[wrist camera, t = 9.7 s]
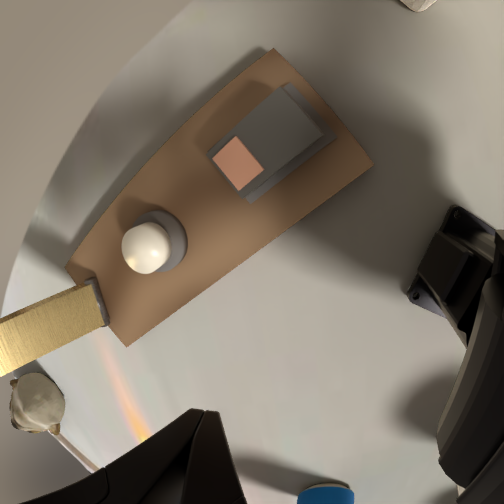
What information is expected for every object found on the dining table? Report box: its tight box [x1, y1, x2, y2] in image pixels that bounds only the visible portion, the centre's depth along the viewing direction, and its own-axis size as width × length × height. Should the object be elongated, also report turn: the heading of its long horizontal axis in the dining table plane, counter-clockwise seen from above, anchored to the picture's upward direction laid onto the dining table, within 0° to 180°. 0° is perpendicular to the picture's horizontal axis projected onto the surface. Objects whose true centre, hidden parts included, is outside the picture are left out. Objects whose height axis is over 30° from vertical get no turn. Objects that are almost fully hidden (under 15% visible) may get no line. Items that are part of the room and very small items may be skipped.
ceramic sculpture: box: [10, 373, 65, 435], centre depth 27 cm, size 11×9×15 cm
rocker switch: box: [206, 87, 325, 199], centre depth 13 cm, size 3×5×1 cm, turn 129°
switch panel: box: [65, 48, 374, 347], centre depth 17 cm, size 8×21×2 cm, turn 129°
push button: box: [122, 222, 172, 274], centre depth 16 cm, size 3×3×1 cm
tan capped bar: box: [0, 277, 111, 377], centre depth 15 cm, size 2×4×12 cm, turn 7°
